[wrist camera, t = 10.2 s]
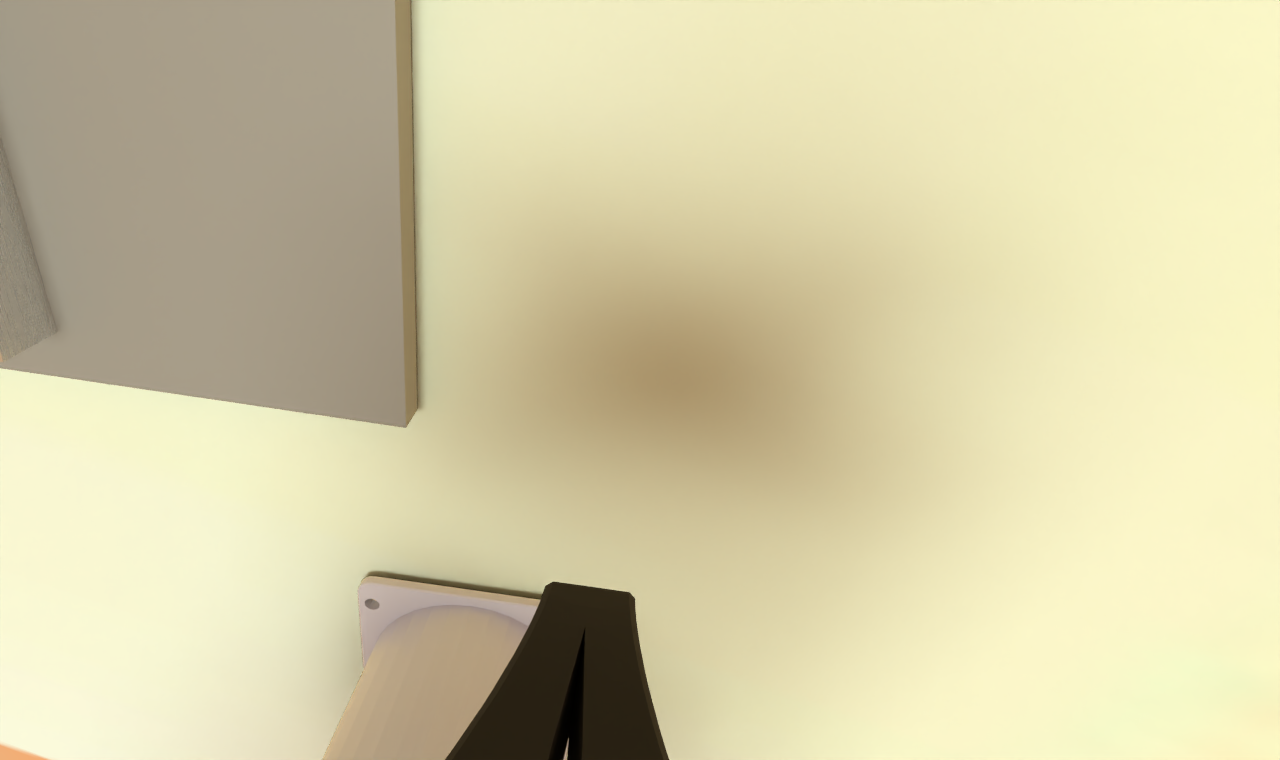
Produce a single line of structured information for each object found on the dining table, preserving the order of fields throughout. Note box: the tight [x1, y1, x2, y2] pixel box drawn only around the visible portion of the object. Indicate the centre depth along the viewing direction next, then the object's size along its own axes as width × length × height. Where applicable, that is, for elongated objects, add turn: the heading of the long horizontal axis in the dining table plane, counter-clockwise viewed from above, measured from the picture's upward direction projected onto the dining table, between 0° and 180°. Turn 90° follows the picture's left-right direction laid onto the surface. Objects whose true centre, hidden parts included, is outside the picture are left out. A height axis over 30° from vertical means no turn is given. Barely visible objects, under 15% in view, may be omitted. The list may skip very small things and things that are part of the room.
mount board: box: [0, 0, 417, 428], centre depth 17 cm, size 14×18×1 cm
